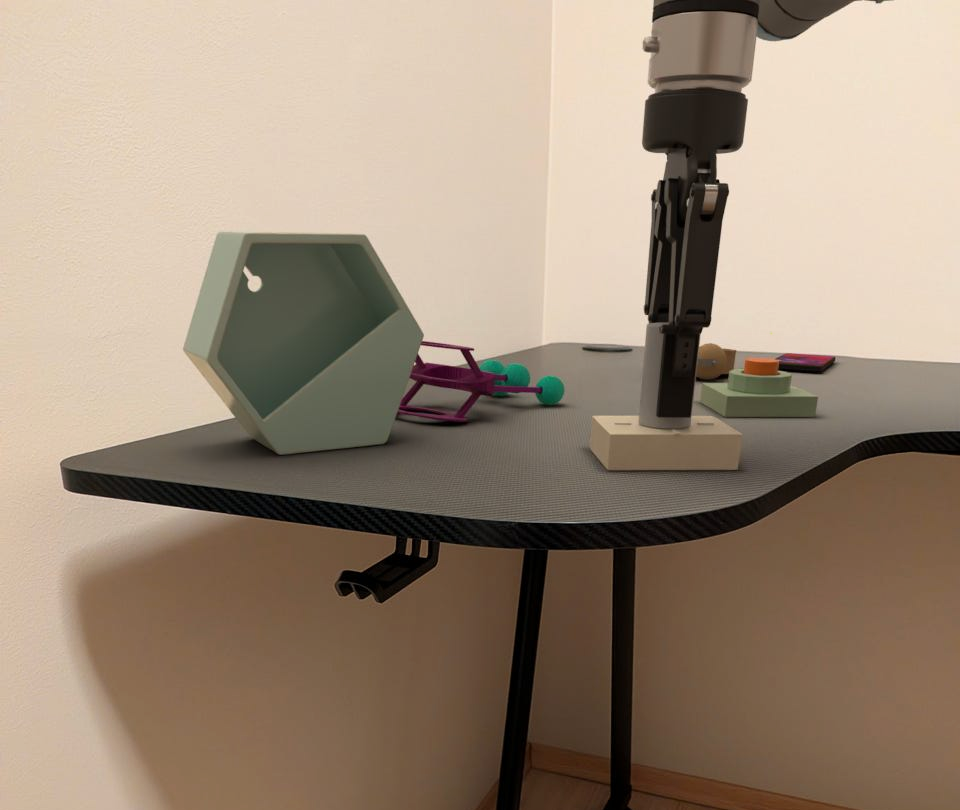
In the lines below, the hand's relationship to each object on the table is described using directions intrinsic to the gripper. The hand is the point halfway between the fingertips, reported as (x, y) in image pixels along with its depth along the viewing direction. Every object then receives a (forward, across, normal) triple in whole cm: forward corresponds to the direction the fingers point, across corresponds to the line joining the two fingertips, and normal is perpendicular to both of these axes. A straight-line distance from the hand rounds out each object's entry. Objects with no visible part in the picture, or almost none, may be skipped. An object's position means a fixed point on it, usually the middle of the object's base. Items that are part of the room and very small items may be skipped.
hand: (665, 410), depth 77 cm
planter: (+4, -6, -31) cm, 32 cm away
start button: (+1, -24, +17) cm, 29 cm away
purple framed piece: (+4, -24, -16) cm, 29 cm away
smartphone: (+4, -61, +36) cm, 71 cm away
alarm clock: (+4, -50, +16) cm, 53 cm away
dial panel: (+4, 0, 0) cm, 4 cm away
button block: (+4, -24, +16) cm, 30 cm away
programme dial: (+1, 0, 0) cm, 1 cm away
